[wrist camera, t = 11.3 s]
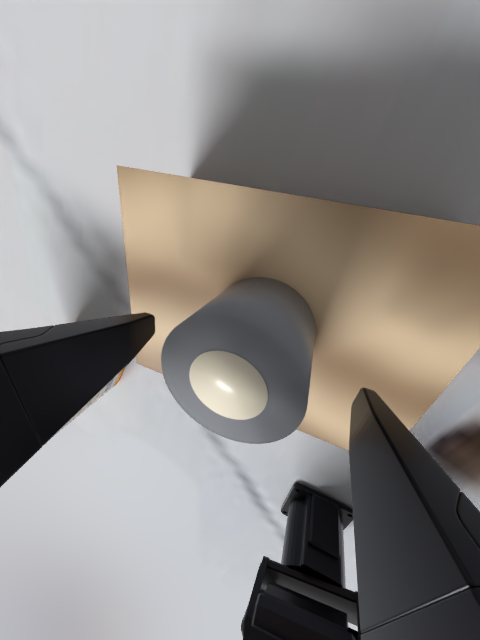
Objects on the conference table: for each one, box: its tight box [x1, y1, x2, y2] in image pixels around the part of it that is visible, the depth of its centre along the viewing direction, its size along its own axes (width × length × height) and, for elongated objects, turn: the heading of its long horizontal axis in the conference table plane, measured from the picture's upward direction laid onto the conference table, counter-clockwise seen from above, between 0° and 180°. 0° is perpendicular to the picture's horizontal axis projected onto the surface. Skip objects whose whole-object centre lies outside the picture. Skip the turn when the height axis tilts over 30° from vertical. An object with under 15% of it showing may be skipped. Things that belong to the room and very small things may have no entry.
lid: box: [117, 166, 480, 451], centre depth 12 cm, size 12×17×1 cm
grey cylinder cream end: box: [161, 277, 316, 444], centre depth 9 cm, size 5×5×5 cm
